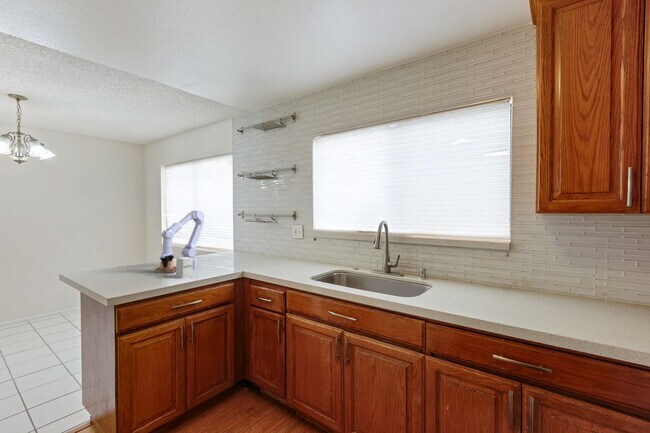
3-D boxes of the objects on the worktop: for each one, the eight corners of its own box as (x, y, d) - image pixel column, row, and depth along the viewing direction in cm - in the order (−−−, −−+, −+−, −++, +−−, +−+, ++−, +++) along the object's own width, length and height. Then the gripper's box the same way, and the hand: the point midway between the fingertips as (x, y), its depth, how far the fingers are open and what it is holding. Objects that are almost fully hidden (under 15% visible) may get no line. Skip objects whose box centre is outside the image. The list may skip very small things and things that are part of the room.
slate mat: (175, 271, 216) (176, 270, 216) (164, 276, 199) (164, 275, 199) (157, 270, 215) (157, 270, 215) (144, 275, 198) (144, 275, 198)
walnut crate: (178, 270, 216) (178, 266, 216) (172, 273, 206) (172, 269, 206) (161, 270, 215) (162, 266, 215) (155, 273, 206) (155, 268, 206)
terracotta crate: (173, 268, 213) (173, 260, 213) (170, 269, 208) (170, 262, 208) (163, 267, 213) (163, 260, 213) (159, 269, 208) (160, 261, 208)
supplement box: (182, 278, 194) (182, 259, 193) (175, 277, 198) (176, 257, 197) (192, 276, 200) (193, 257, 200) (186, 275, 204) (186, 256, 204)
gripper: (166, 245, 217) (166, 264, 218) (156, 248, 203) (155, 268, 203) (176, 246, 218) (176, 264, 218) (167, 248, 203) (166, 268, 204)
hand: (167, 266), depth 211 cm, fingers closed on terracotta crate, 5 cm apart
